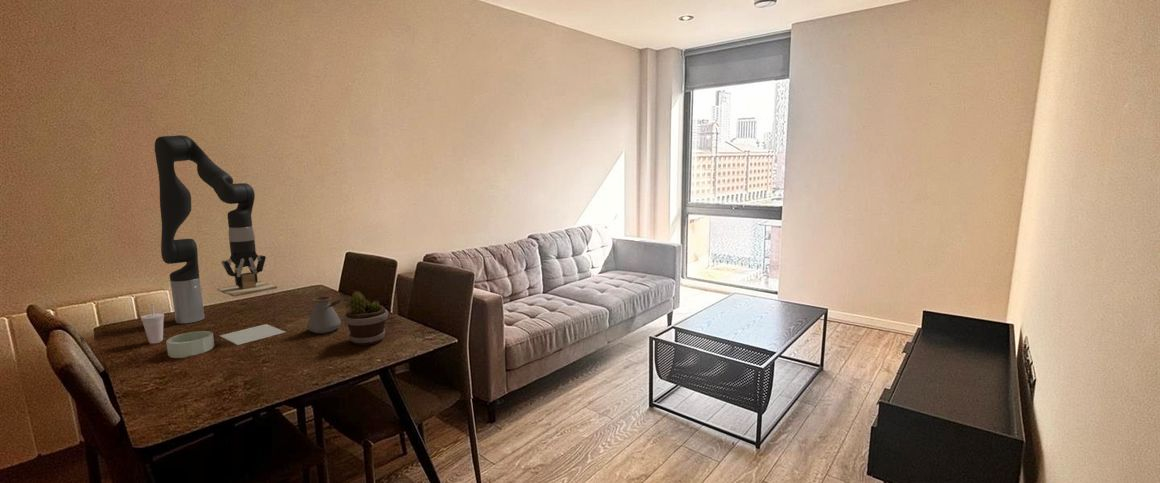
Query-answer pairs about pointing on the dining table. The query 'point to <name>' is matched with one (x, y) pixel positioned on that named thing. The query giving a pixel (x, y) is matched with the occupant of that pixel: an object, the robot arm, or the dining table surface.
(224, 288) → the lid
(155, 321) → the smoothie
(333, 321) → the coffee pot
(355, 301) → the flowerpot
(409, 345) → the dining table surface
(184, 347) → the bowl
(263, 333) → the tray
